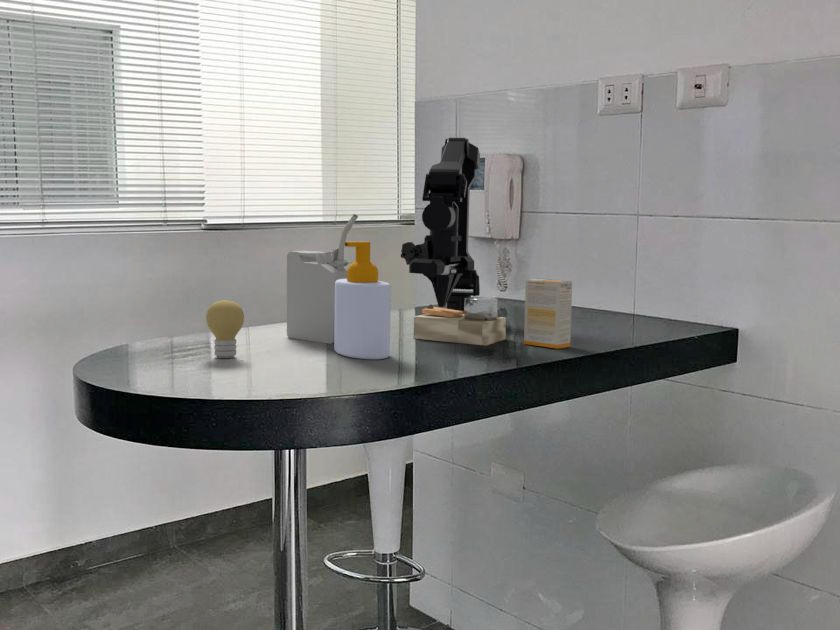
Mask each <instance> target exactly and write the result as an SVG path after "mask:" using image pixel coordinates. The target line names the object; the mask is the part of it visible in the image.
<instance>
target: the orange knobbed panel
mask: <svg viewBox="0 0 840 630" xmlns="http://www.w3.org/2000/svg"><path fill="white" fill-rule="evenodd" d="M421 313H422V314H432V315H439V316H446V317H452V318H453V317H457V316H461V315H463V311H459V310H452V309H446V307H439V306H438V307H436V306H433V305H432V304H431V303H430V304H427V305H425V308H422V309H421Z"/></svg>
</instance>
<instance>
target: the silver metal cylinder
mask: <svg viewBox="0 0 840 630" xmlns="http://www.w3.org/2000/svg"><path fill="white" fill-rule="evenodd" d="M498 300H499V299H498V298H497V297H496V298H495V297H485V296H482V297H480V296H471V297H468V298H465V303H464V319H467V320H475V321H492V320H497V317H498V302H499V301H498Z"/></svg>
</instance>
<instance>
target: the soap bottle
mask: <svg viewBox="0 0 840 630" xmlns="http://www.w3.org/2000/svg"><path fill="white" fill-rule="evenodd" d="M353 247H354V248H355V261H354V262H351V263H350V265H349V266H348V267H347V269H346V270H347V279H339V280H336V281H335V320H334V344H333V345H334V346H333V348H334V352H335V353H336V354H338V355H341V356H344V357H349V358H353V359H359V360H361V359H362V360H373V361H374V360H384V359H388V357H389V356H390V354H391V302H392V299H391V297H392V295H391V294H392V293H391V292H392V285H391V283H389V282H386V281H382V280H379V271H378V267H377V266H376V264H374V263H372V262H371V241H345V245H344V248H353Z"/></svg>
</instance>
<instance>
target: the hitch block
mask: <svg viewBox="0 0 840 630" xmlns="http://www.w3.org/2000/svg"><path fill="white" fill-rule="evenodd" d="M506 325H507V317H505V316H504V317H503V316H497V320H492V321H475V320H467V319H464V314H463V315H461V316H457V317H453V318H452V317H446V316H439V315H432V314H426V313H422V314H419V315H414V316H413V339H414V340H416V339H417V340H424V341H425V340H426V341H434V342H435V341H438V342H446V343H454V344H455V343H456V344H465V345H467V344H468V345H476V346H489V345H493V344H495V343H497V342H498V343H499V342H501V341H504V340H506V331H507V330H506V329H507V326H506Z"/></svg>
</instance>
